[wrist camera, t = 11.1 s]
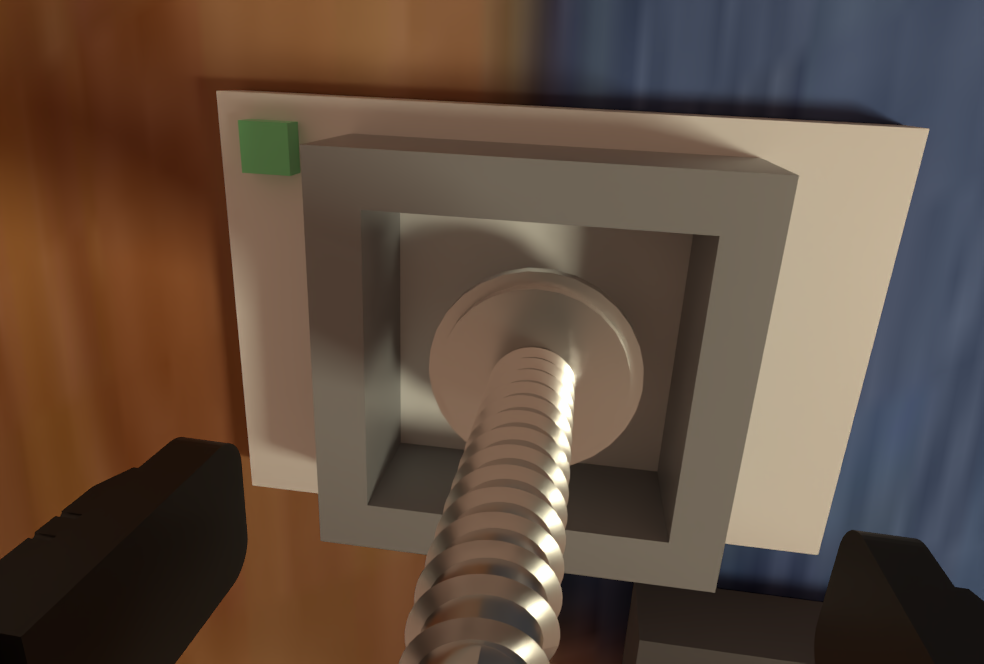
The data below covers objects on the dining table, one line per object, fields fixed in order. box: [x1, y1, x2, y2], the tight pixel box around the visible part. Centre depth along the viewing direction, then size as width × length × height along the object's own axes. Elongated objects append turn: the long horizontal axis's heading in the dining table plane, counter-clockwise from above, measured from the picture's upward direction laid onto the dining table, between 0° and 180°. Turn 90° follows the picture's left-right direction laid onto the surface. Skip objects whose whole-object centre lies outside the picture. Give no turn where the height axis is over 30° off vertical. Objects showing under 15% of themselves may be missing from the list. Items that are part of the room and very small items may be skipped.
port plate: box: [216, 90, 929, 593], centre depth 16 cm, size 16×11×4 cm
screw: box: [399, 268, 644, 664], centre depth 11 cm, size 13×5×5 cm
